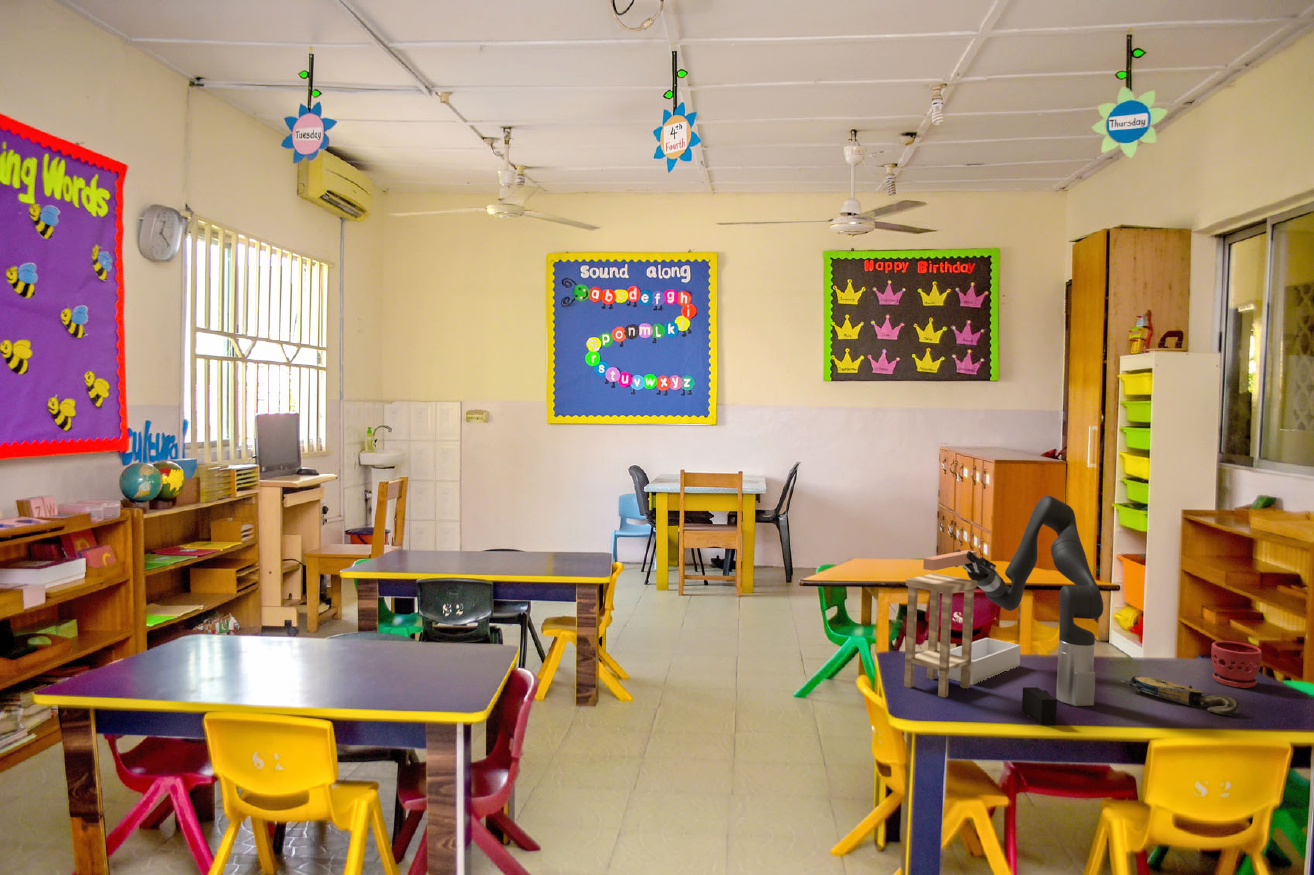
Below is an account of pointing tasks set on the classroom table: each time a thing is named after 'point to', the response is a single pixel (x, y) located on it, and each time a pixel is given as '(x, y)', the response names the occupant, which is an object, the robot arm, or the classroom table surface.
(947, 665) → the tall stand
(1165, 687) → the pulley block
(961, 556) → the brown rectangular block
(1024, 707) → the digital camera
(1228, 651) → the plant pot
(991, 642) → the grey bin
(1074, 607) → the robot arm
